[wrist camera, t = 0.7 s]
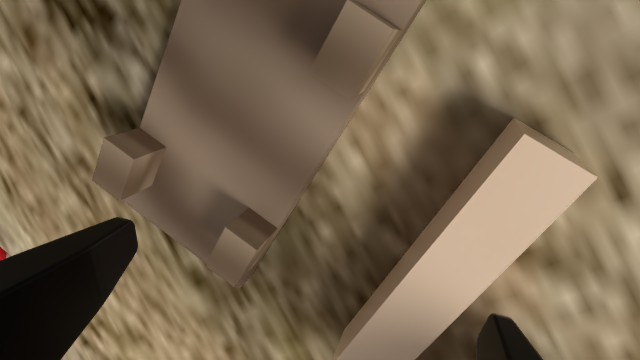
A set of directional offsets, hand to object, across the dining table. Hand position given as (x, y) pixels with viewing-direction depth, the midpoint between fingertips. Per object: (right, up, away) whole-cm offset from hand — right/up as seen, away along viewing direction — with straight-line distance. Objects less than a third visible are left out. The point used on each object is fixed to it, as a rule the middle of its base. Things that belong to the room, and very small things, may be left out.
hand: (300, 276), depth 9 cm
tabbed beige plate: (-3, +6, +12) cm, 14 cm away
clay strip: (+7, -2, +11) cm, 13 cm away
